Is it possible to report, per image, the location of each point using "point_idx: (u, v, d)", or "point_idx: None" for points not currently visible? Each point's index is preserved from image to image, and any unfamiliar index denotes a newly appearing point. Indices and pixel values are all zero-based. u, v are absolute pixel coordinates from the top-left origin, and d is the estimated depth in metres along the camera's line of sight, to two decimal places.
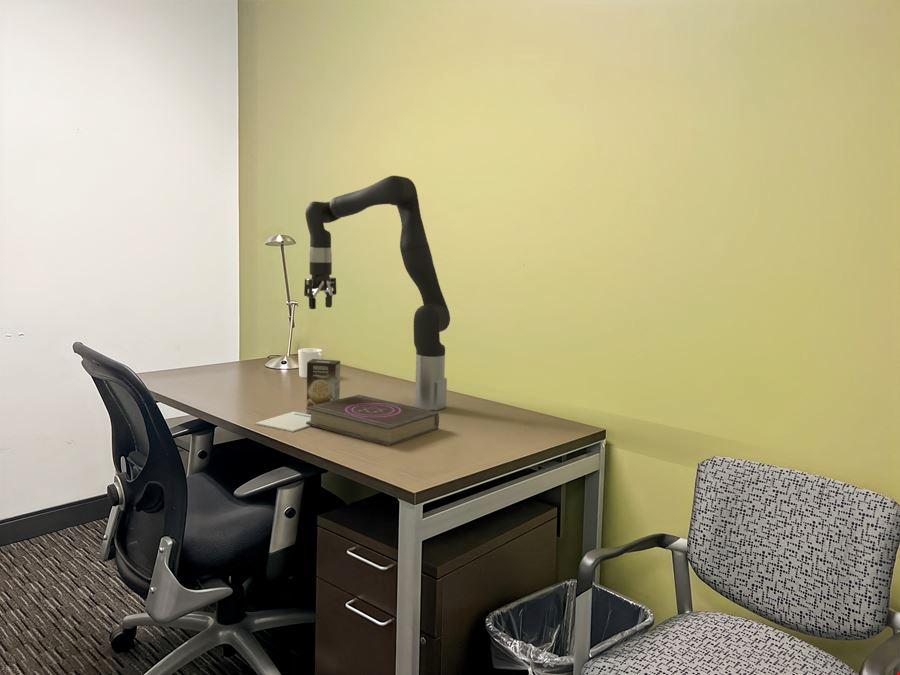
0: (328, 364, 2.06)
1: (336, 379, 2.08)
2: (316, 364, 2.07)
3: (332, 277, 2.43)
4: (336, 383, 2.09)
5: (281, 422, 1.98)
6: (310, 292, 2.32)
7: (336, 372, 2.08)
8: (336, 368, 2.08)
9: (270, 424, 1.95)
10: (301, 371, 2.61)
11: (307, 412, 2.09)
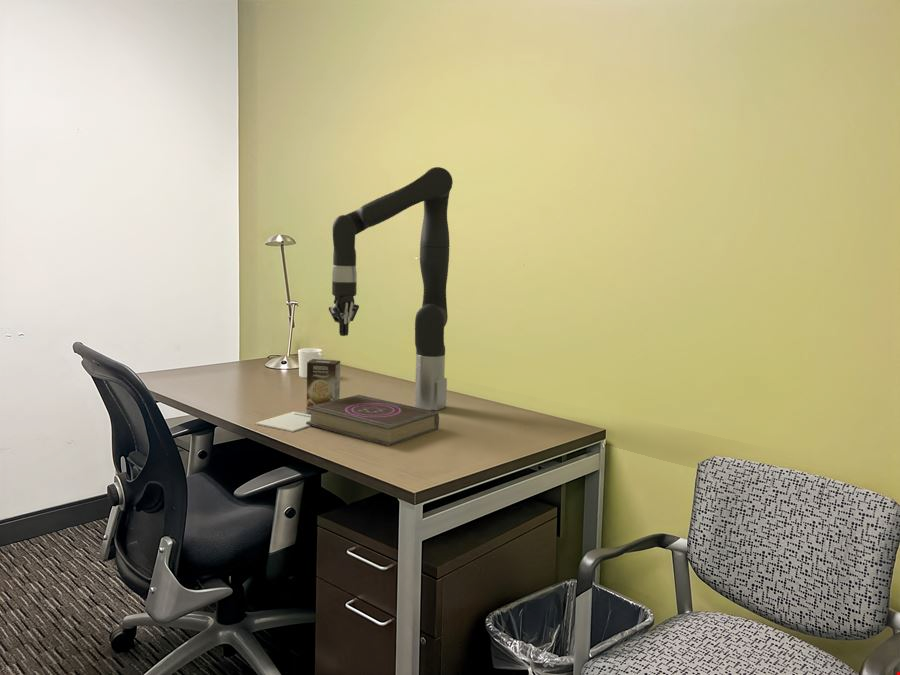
0: (328, 364, 2.06)
1: (336, 379, 2.08)
2: (316, 364, 2.07)
3: None
4: (336, 383, 2.09)
5: (281, 422, 1.98)
6: (340, 319, 2.13)
7: (336, 372, 2.08)
8: (336, 368, 2.08)
9: (270, 424, 1.95)
10: (302, 371, 2.61)
11: (307, 412, 2.09)
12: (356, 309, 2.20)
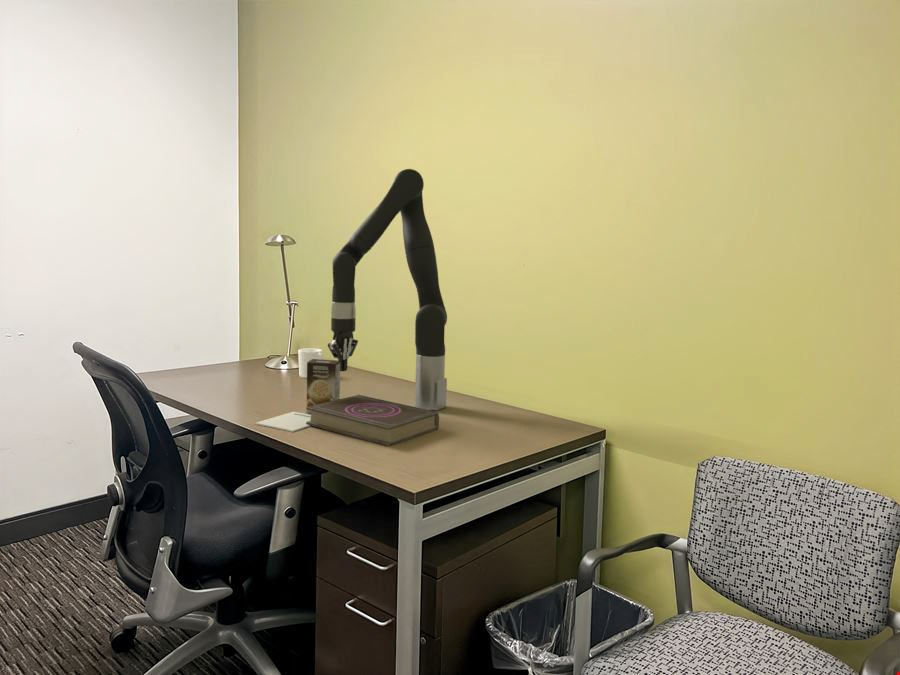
0: (328, 364, 2.06)
1: (336, 379, 2.08)
2: (316, 364, 2.07)
3: None
4: (336, 383, 2.09)
5: (281, 422, 1.98)
6: (339, 355, 2.15)
7: (336, 372, 2.08)
8: (336, 368, 2.08)
9: (270, 424, 1.95)
10: (301, 371, 2.61)
11: (307, 412, 2.09)
12: (355, 344, 2.21)
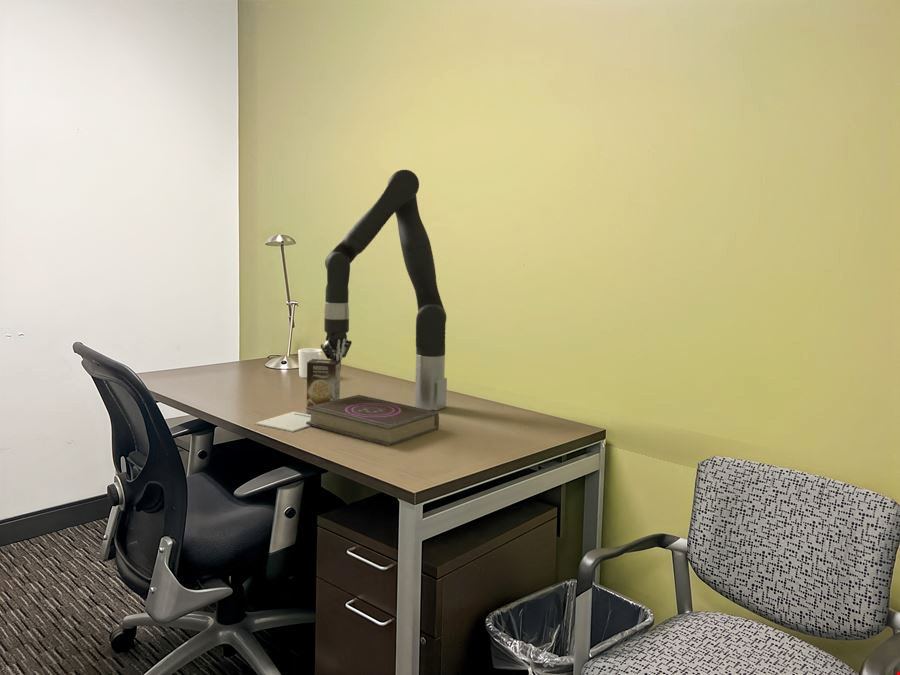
0: (328, 364, 2.06)
1: (336, 379, 2.08)
2: (316, 364, 2.07)
3: (348, 340, 2.20)
4: (336, 383, 2.09)
5: (281, 422, 1.98)
6: (332, 356, 2.12)
7: (336, 372, 2.08)
8: (336, 368, 2.08)
9: (270, 424, 1.95)
10: (301, 371, 2.61)
11: (307, 412, 2.09)
12: (349, 345, 2.18)
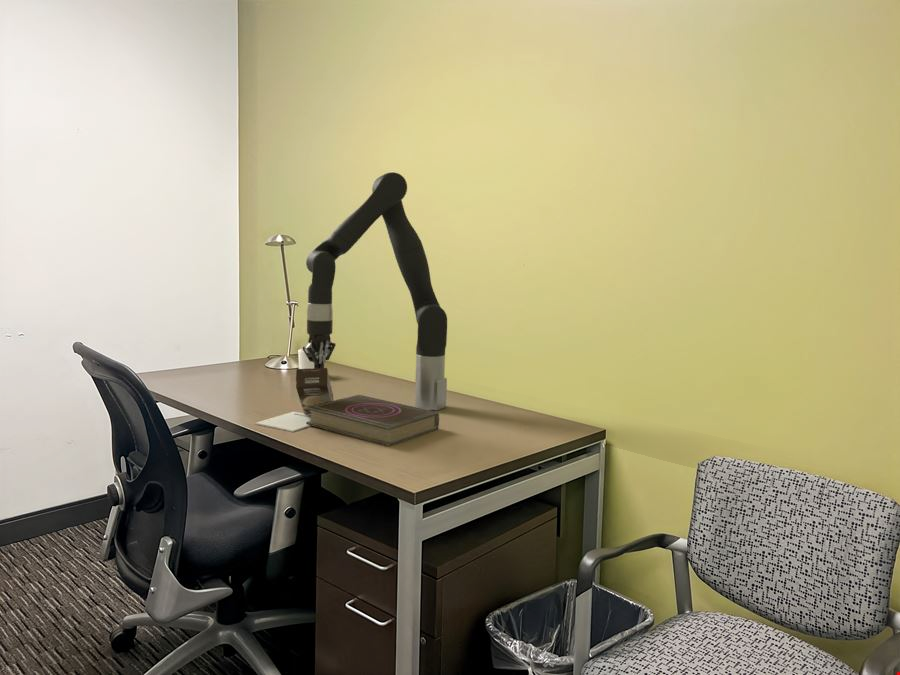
0: (319, 386, 1.96)
1: (329, 390, 2.01)
2: (306, 387, 1.96)
3: None
4: (329, 392, 2.02)
5: (281, 422, 1.98)
6: (315, 359, 2.05)
7: (328, 386, 1.99)
8: (327, 384, 1.98)
9: (270, 424, 1.95)
10: None
11: (305, 413, 2.08)
12: (332, 347, 2.11)
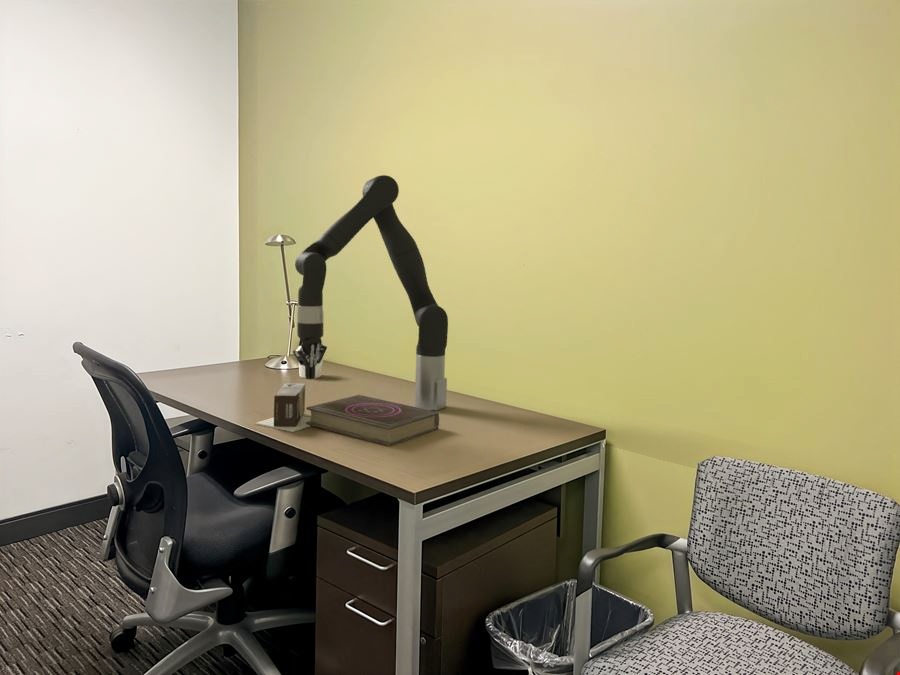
0: (296, 403, 1.93)
1: (294, 391, 1.97)
2: (296, 415, 1.93)
3: (323, 345, 2.09)
4: (294, 390, 1.98)
5: None
6: (306, 362, 2.01)
7: (293, 393, 1.95)
8: (292, 394, 1.94)
9: (270, 424, 1.95)
10: (301, 371, 2.61)
11: (304, 411, 2.09)
12: (324, 350, 2.07)
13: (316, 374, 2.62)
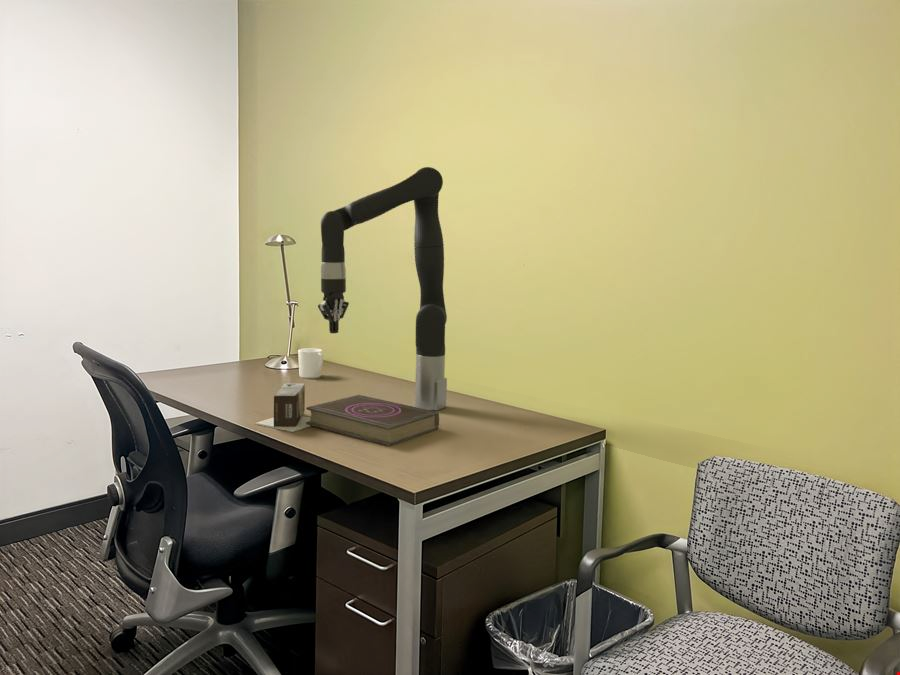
0: (296, 403, 1.93)
1: (293, 391, 1.97)
2: (296, 415, 1.93)
3: None
4: (294, 390, 1.98)
5: None
6: (330, 316, 2.11)
7: (292, 393, 1.95)
8: (292, 394, 1.94)
9: (270, 424, 1.95)
10: (301, 371, 2.61)
11: (304, 410, 2.09)
12: (346, 306, 2.18)
13: (316, 374, 2.62)
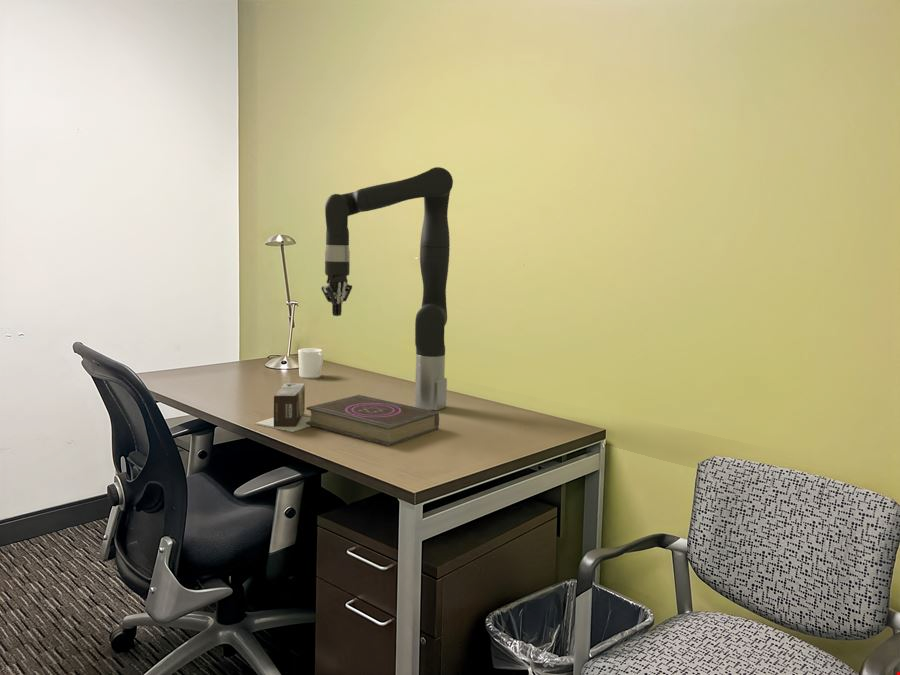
0: (296, 403, 1.93)
1: (293, 391, 1.97)
2: (296, 415, 1.93)
3: (349, 285, 2.20)
4: (294, 390, 1.98)
5: None
6: (333, 298, 2.12)
7: (292, 393, 1.95)
8: (292, 394, 1.94)
9: (270, 424, 1.95)
10: (301, 371, 2.61)
11: (304, 410, 2.09)
12: (349, 289, 2.19)
13: (316, 374, 2.62)
